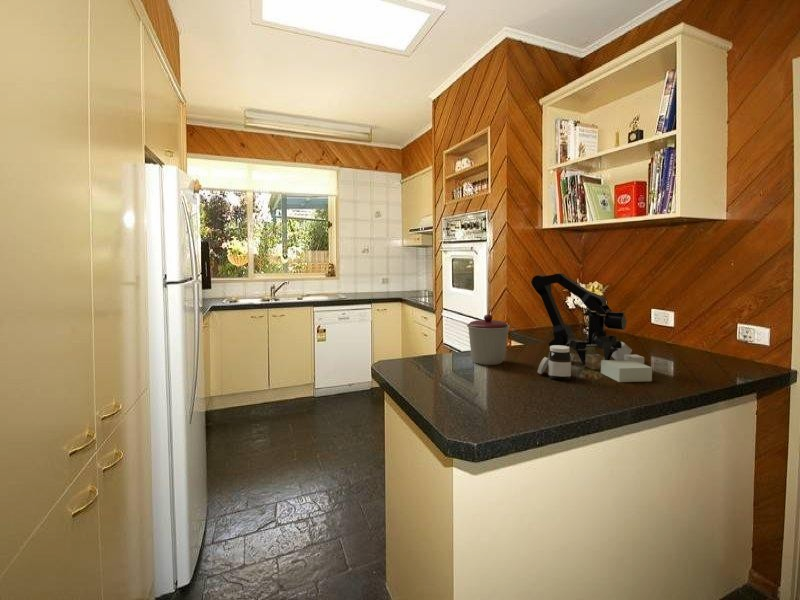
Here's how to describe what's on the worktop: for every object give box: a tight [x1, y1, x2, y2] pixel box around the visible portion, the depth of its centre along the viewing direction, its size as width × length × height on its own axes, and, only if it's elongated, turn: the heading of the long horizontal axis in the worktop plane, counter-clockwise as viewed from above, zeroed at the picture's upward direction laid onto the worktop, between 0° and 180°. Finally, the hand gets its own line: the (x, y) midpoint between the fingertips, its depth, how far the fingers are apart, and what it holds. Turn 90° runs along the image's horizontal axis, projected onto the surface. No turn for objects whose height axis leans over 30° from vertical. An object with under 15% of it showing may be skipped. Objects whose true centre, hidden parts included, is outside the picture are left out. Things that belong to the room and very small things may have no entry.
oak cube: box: [585, 353, 605, 370], centre depth 162 cm, size 5×5×5 cm
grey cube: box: [624, 354, 645, 365], centre depth 160 cm, size 5×5×5 cm
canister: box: [466, 314, 511, 366], centre depth 171 cm, size 18×18×21 cm
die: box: [611, 341, 633, 360], centre depth 173 cm, size 8×9×10 cm
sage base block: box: [600, 359, 653, 383], centre depth 148 cm, size 12×12×5 cm
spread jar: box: [537, 345, 572, 381], centre depth 149 cm, size 12×11×12 cm
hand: (594, 365), depth 162 cm, fingers open, 9 cm apart
